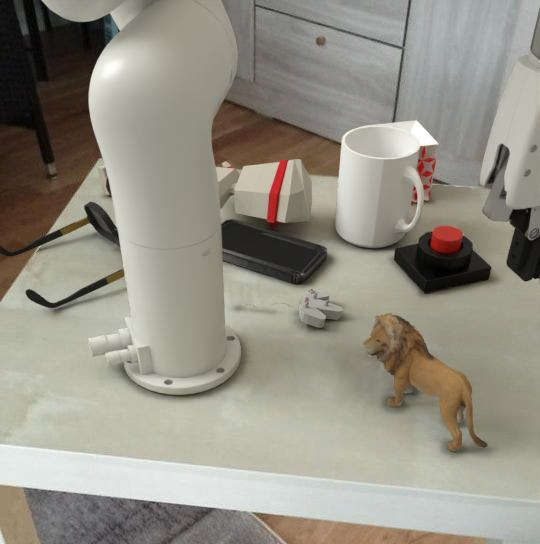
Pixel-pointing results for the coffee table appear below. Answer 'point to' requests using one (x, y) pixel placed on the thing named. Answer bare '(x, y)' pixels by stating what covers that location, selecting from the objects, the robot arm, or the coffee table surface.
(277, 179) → the toy
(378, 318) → the lion figurine
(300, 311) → the game controller
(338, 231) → the mug
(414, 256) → the button box
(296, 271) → the phone
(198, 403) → the coffee table surface
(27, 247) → the sunglasses
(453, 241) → the button
